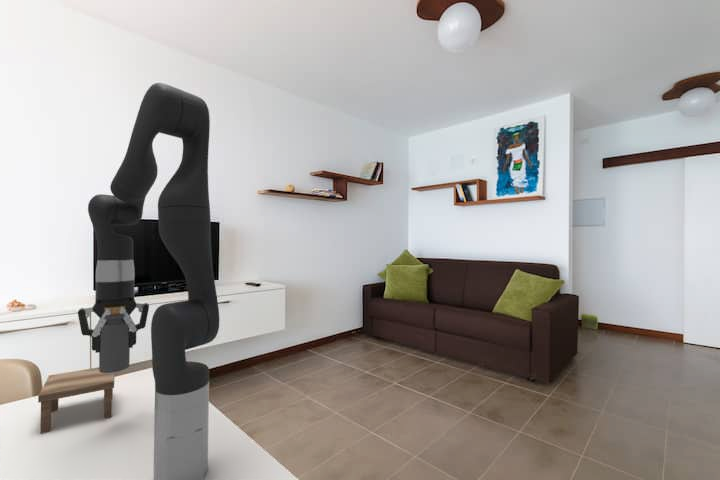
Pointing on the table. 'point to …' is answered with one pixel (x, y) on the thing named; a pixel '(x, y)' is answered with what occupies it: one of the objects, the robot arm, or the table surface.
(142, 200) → the robot arm
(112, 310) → the bottle
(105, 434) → the table surface
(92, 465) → the table surface
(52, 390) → the wooden bench
